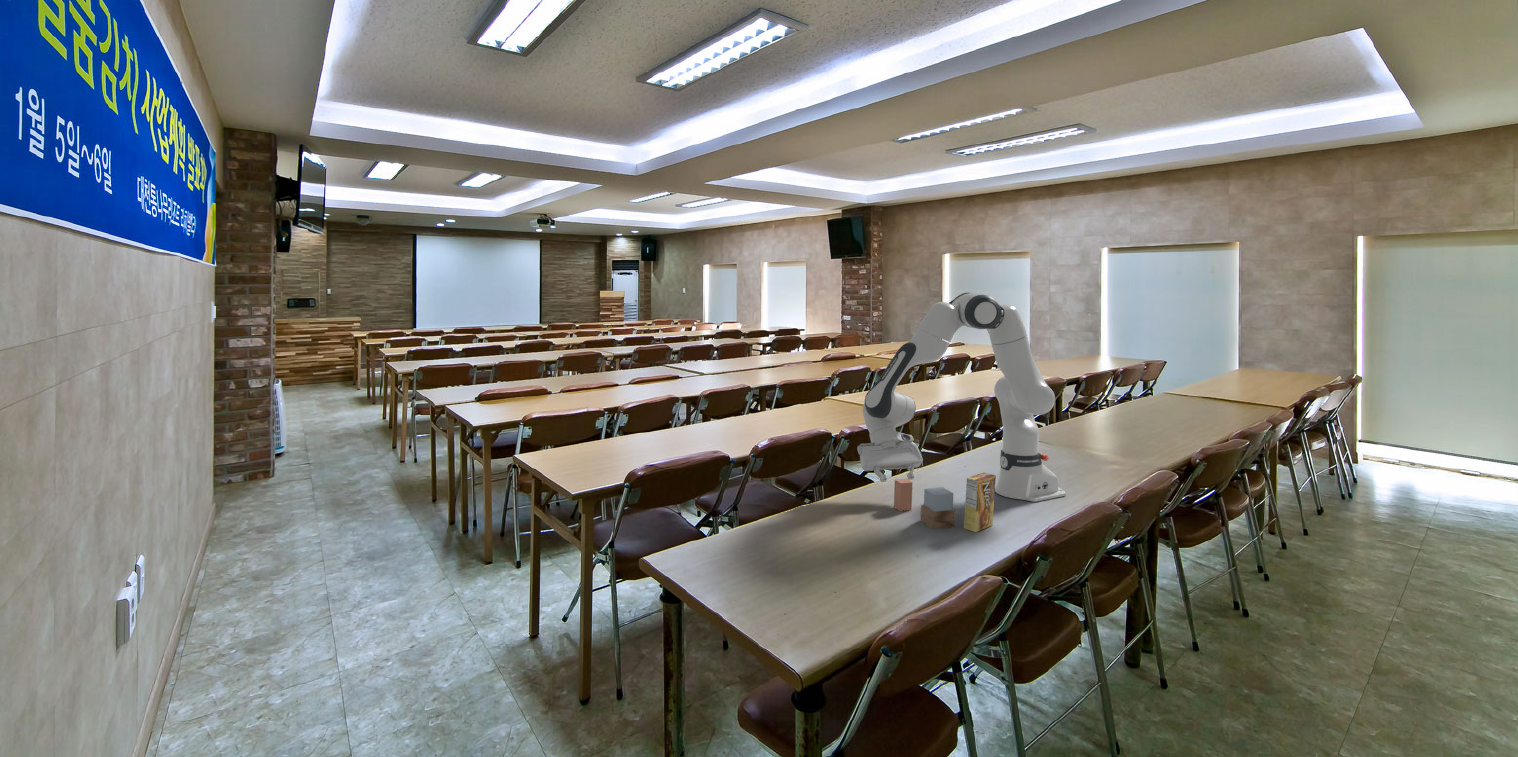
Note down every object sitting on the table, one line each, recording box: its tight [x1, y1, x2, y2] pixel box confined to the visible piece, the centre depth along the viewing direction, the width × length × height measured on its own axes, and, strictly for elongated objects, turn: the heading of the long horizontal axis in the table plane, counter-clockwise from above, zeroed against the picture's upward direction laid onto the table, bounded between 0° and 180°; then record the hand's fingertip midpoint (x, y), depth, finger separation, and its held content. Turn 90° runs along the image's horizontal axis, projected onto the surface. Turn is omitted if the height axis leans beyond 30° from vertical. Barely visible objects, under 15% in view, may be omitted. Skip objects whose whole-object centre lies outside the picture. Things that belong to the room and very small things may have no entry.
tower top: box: [923, 486, 954, 512], centre depth 198 cm, size 6×6×5 cm
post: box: [893, 478, 913, 512], centre depth 211 cm, size 4×4×9 cm
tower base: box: [920, 503, 956, 530], centre depth 199 cm, size 7×7×5 cm
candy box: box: [963, 472, 997, 533], centre depth 195 cm, size 9×4×15 cm, turn 129°
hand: (897, 479), depth 214 cm, fingers open, 8 cm apart
